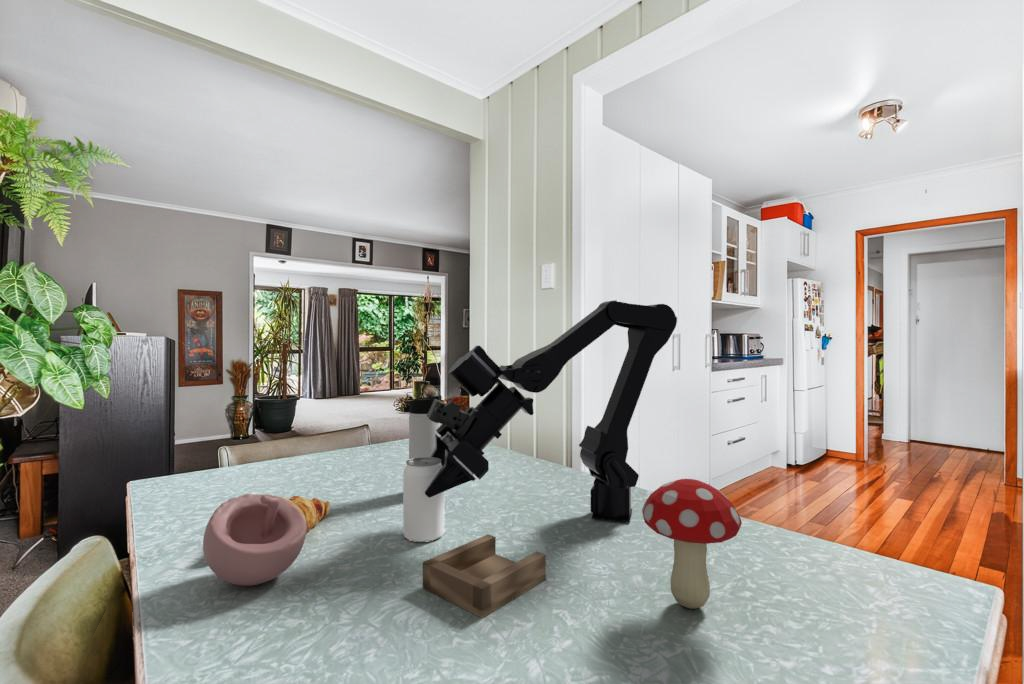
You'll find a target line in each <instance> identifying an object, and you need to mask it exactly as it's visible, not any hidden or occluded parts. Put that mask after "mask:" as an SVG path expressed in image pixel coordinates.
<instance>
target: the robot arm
mask: <svg viewBox="0 0 1024 684" xmlns="http://www.w3.org/2000/svg"><path fill="white" fill-rule="evenodd" d="M677 322H678V317H677V316H676V314H675V311H674V310H673V308H672V307H671V306H669V305H668V304H665V303H657V304H649V305H643V304H635V303H628V302H622V301H619V300H617V299H616V300H615V299H614V300H609V301H603V302H600V304H599V305H598V307H596V308H595V309H594V310H593V311H591V312H590V313H589V314H588V315H586V316H585V317H583V318H582V319H581V320H580V321H578V322H577V323H576V324H574V325H573V326H572V327H570V328H569V329H568V330H566V331H565V332H564V333H563V334H561V335H560V336H559V337H557V338H556V339H554V341H552V342H550V343H549V344H547V345H545V346H543V347H540V348H538V349H535V350H533V351H530V352H529V353H527V354H525V355H524V356H521V357H519V358H517V359H516V360H515V361H514V362H513V363H512V364H508V365H498V364H497V363H496V362H495V361H494V360H493V359H492V358H491V357H490V356H489V354H487V352H486V350H485V349H484V348H483V347H482V346H481V345H475V346H474V347H473V348H472V349H471V350H468V352H466V354H464V355H463V356H461V357H459V358H458V359H457V360H456V361H455V362H454V363H453V365H452V366H451V367H450V369H449V370H448V372H447V374H448V375H450V376H451V377H452V379H454V381H455V382H457V383H458V385H459V386H461V387H462V389H463V390H465V391H466V392H467V393H468V395H470V397H475V396H477V395H478V396H479V397H480V398H481V397H484V398H483V399H481V400H480V402H479V403H478V404H477V405H476V406H475V407H473V406H469V407H468V408H467V409H466V410H464V411H463V410H461V406H460V404H458V403H455V402H453V401H451V400H449V401H447V402H443V401H442V400H440V401H439V400H437V399H434V401H433V404H432V406H431V408H430V410H429V412H428V414H427V417H429V418H428V419H429V420H431V421H433V422H435V423H440V427H439V428H438V429H437V430H436V431H437V433H438V434H439V435H440V437H439V436H438V435H437V434H435V442H436V447H435V450H434V451H433V453H432V455H431V457H434V458H439V459H441V465H442V468H441V469H440V471H439V472H438V473H437V475H436V476H435V478H434V479H433V480H432V482H431V483H430V485H429V486H428V488H427V489H426V491H425V495H426V496H428V497H429V498H430V497H432V496H435V495H437V494H439V493H442V492H444V493H445V492H446V491H448V490H452V489H453V488H456V487H458V486H460V485H463V484H464V485H465V484H466V483H469V482H471V481H472V482H474V481H475V480H477V479H478V480H481V479H483V477H484V476H485V475H486V474H487V473H488V471H489V460H487V458H486V457H485V456H484V454H485V452H484V451H483V450H484V449H485V448H486V447H487V446H488V444H490V443H491V442H492V440H493V439H494V438H496V439H499V438H500V437H501V436H502V433H501V431H502V430H503V429H504V428H505V426H506V425H507V424H508V423H509V422H510V421H512V419H513V418H515V416H516V414H518V413H519V412H520V411H521V410H522V411H523V412H524V413H525V414H527V415H530V416H533V415H534V404H533V403H534V398H531V397H529V396H528V397H525V396H524V395H523V394H522V393H521V392H520V390H522V391H527V392H528V393H535V394H536V393H537V394H538V393H541V392H543V391H544V390H546V389H547V388H548V387H549V386H550V385H551V383H553V381H554V380H555V379H556V378H557V377H558V376H559V375H560V373H561V372H562V370H563V368H564V366H565V365H566V364H567V363H568V362H569V361H570V360H571V359H573V358H575V356H576V355H578V354H579V353H580V352H582V351H583V350H585V348H587V347H588V346H589V345H591V344H592V343H593V342H594V341H597V339H598V338H600V337H601V336H602V335H604V333H606V332H608V331H609V330H610V329H611V328H612V327H613V326H618V327H621V328H626V329H627V342H628V343H627V344H628V348H627V351H626V353H625V354H626V355H625V357H624V359H623V363H622V365H621V367H620V370H619V373H618V375H617V378H616V380H615V384H614V387H613V389H612V391H611V394H610V397H609V400H608V403H607V405H606V408H605V410H604V413H603V416H602V418H601V420H600V421H599V422H598V423H597V424H596V426H595V427H593V426H591V425H586V428H585V431H584V434H583V435H584V436H583V438H582V440H581V442H580V443H579V444H578V447H580V451H579V457H580V459H581V463H583V465H584V466H585V467H586V468H588V470H589V474H590V476H591V477H594V480H593V485H592V486H591V488H590V512H591V513H592V514H591V519H592V520H597V521H598V520H599V521H606V522H617V523H626V524H627V523H628V524H630V522H631V519H632V514H633V508H632V488H635V487H636V486H637V483H638V480H639V478H640V477H639V473H638V472H637V471H636V470H635V469H634V468H632V466H631V465H630V464H628V462H627V456H628V451H629V441H628V440H629V439H628V429H629V426H630V424H631V420H632V417H633V415H634V413H635V410H636V407H637V404H638V401H639V399H640V396H641V394H642V391H643V388H644V386H645V383H646V380H647V377H648V375H649V372H650V369H651V366H652V364H653V360H654V358H655V356H656V354H657V353H658V352H659V351H660V350H661V349H662V348H663V347H664V346H665V345H666V344H667V343H668V341H669V340H670V338H671V337H672V334H673V332H674V331H675V329H676V327H677ZM502 380H504V381H508V382H510V383H513V384H514V386H511V387H508V386H506V384H504V382H503V381H502ZM517 388H518V389H520V390H518V389H517ZM485 395H486V396H485ZM476 478H477V479H476Z"/></svg>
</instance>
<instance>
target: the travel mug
mask: <svg viewBox="0 0 1024 684" xmlns="http://www.w3.org/2000/svg"><path fill="white" fill-rule="evenodd" d="M434 399H437V400H439V401H441V400H442V395H435V396H427V397H421V398H419V397H418V398H414V399H412V400H409V401H408V402H409V403H408V405H409V408H408V415H409V416H408V460H410V459H413V458H419V457H431V455H432V453H433V451H434V450H435V447H436V442H435V434H437V435H438V436H439V437H440V436H441V435H439V434H438V433H437V431H436V430H437V429H438V428H439V427H440V426H441V423H435V422H433V421H431V420H429V419H428V418H429V417H427V414H428V412H429V410H430V408H431V406H432V404H433V401H434Z"/></svg>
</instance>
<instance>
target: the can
mask: <svg viewBox="0 0 1024 684" xmlns="http://www.w3.org/2000/svg"><path fill="white" fill-rule="evenodd" d="M441 468H442V465H441V459H439V458H434V457H419V458H413V459H410V460H409V459H408V460H406V465H405V468H404V469H403V473H402V474H403V476H402V477H403V478H402V481H403V485H402V486H403V487H402V488H403V489H402V492H403V495H402V496H403V498H402V501H403V502H402V503H403V504H402V505H403V506H402V507H403V508H402V509H403V513H402V514H403V516H402V517H403V537H404V538H405V539H406V538H407V539H408V540H411V541H416V542H426V541H431V542H433V541H432V540H435V539H437V540H439V539H441V538H442V537H443V535H444V533H445V491H444V492H442V493H439V494H437V495H435V496H432V497H430V498H429V497H428V496H426V495H425V491H426V489H427V488H428V486H429V485H430V483H431V482H432V480H433V479H434V478H435V476H436V475H437V473H438V472H439V471H440V469H441ZM438 538H439V539H438ZM407 539H406V540H407ZM408 540H407V541H408ZM411 541H410V542H411ZM435 541H436V540H435ZM416 542H415V543H416ZM426 543H427V542H426Z"/></svg>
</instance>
